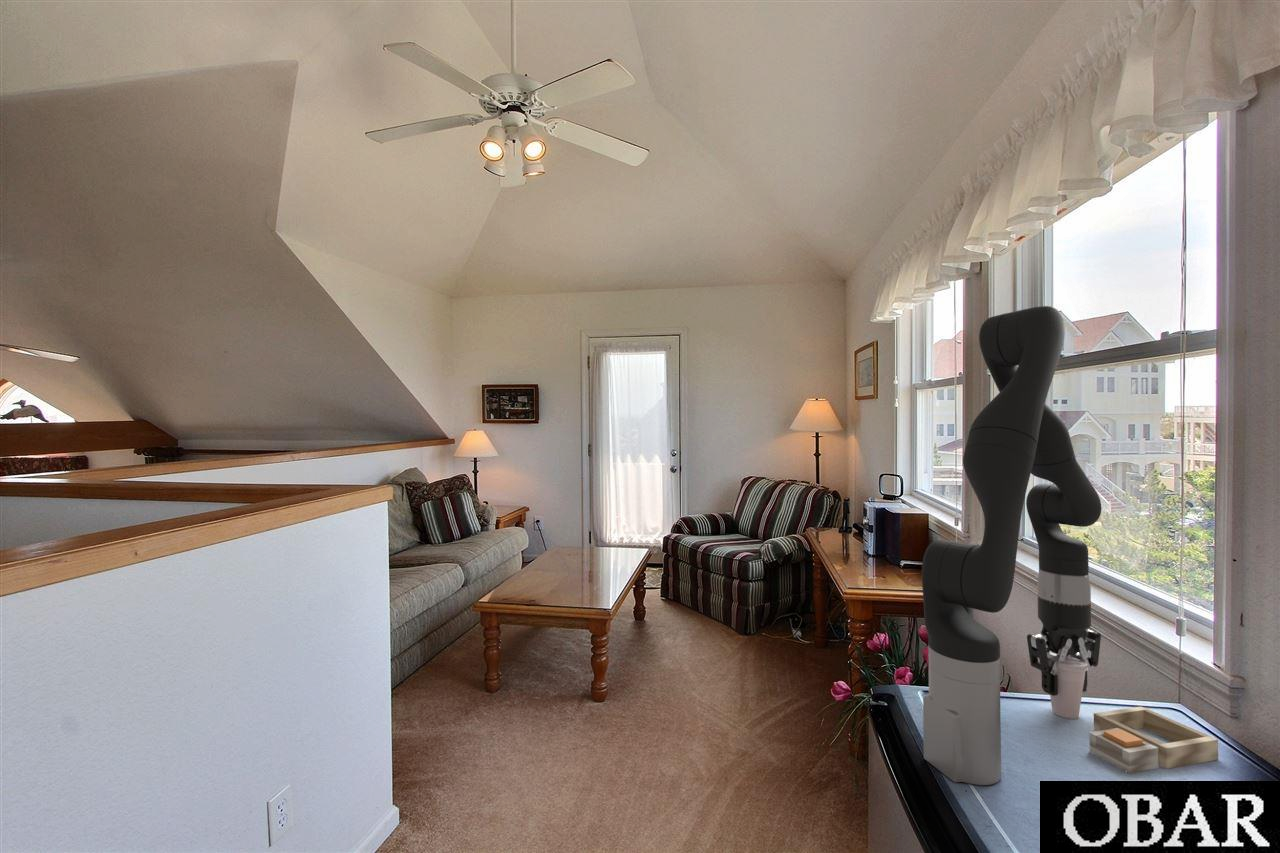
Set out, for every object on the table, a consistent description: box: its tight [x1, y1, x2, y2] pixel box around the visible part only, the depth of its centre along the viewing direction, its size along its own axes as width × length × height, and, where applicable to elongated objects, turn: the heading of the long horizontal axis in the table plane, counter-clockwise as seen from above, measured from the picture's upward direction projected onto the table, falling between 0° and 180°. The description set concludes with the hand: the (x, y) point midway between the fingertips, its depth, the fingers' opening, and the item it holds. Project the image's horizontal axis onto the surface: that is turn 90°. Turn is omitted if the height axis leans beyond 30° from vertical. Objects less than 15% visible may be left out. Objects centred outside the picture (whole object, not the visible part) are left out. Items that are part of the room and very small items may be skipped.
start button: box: [1104, 729, 1143, 748], centre depth 83 cm, size 3×3×2 cm
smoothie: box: [1048, 651, 1088, 720], centre depth 97 cm, size 6×6×14 cm
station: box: [1089, 706, 1219, 774], centre depth 86 cm, size 17×10×3 cm, turn 103°
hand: (1064, 691), depth 97 cm, fingers closed on smoothie, 5 cm apart
